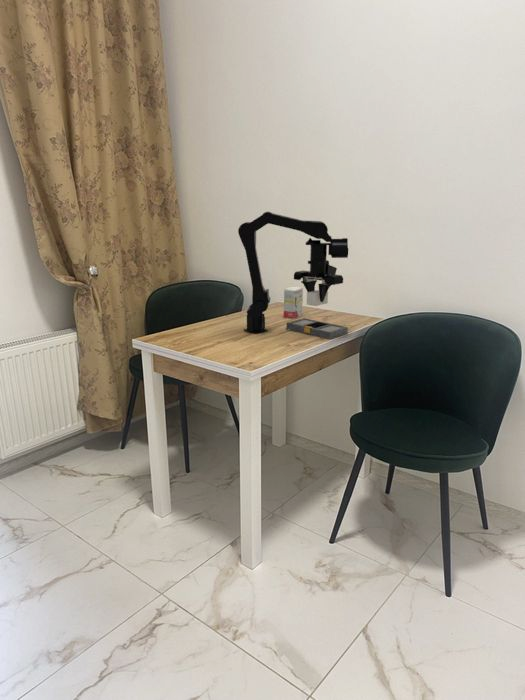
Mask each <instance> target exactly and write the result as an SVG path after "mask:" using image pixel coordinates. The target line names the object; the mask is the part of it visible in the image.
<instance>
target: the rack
mask: <svg viewBox="0 0 525 700" xmlns="http://www.w3.org/2000/svg"><path fill="white" fill-rule="evenodd" d="M288 329H289V330H288ZM286 330H288V331H293V332H296V333H302V334H306V335H308V336H309V335H310V336H314V337H318V338H322V339H326V340H333V339H335V338H339V337H343V336H346V335H348V333H349V327H348V326H345V325H339V324H333V323H330V322H324V321H319V320H315V319H311V318H305V317H304V318H301V319H297V320H291V321H289V322H286Z"/></svg>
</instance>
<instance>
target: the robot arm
mask: <svg viewBox="0 0 525 700" xmlns="http://www.w3.org/2000/svg"><path fill="white" fill-rule="evenodd" d="M266 225H273V226H274V225H275V226H278V227H281V228H286V229H290V230H295V231H299V232H302V233H304V234H305V235H308V236H310V237H309V238H308V239H307V241H305V245H306V246H310V253H309V258H310V260H307V264H308V265H309V270H298V271H295V272H294V273H293V280H294V281H295V280H296V281H300V282H301V284H303V286H304V288H305V290H306V293H307V292H311V291H316V289H315V288H316V284H317V285H318V290H319V295H320V301H321V302H323V301H324V298H325V296H326V293H327V291H328V290H329V289H330V288H331V286H336V285H340V284H344V277H343V276H342V274H337V269H338V268H337V267H336V266H334V265H331V264H330V261H329V260H327V255H328V256H330V257H331V258H332V259H334V258H335V259H348V256H349V244H348V241H349V239H348V238H347V237H343V238H332V236H331V235H329V233H328V232H329V230H328V226H327V225H326V223H324V221H321V220H305V219H304V220H303V219H298V218H295V217H290V216H285V215H281V214H279V213H278V214H277V213H274V212H271V211H265V212H263V213H262V214H261V215H260V216H258V217H256V218H255V219H253V220H252V221H247V222H243V223H242V224H240V225H239V226H238V229H237V233H238V237H239V239H240V242H241V244H242V246H243V248H244V250H245V255H246V261H247V265H248V271H249V276H250V281H251V285H252V286H251V287H252V291H251V292H252V293H251V294H252V295H251V296H252V298H251V299H252V300H251V301H252V302H251V304H250V305H249V306H248V308H247V309H246V328H243V331H245V332H248V333H252V334H259V333H263V332H267V331H268V328H266V317H265V313H264V312H267V309H268V307H269V304H270V303H271V296H270V295H269V294H270V289H269V288H266V289H265V286H264V285H263V279H262V274H261V268H260V263H259V257H258V253H257V231H259V230H261V229H262V228H263V227H265V226H266ZM311 237H313V238H314V239H312V238H311ZM321 240H323V241H325V242H322V241H321ZM327 253H328V254H327ZM301 279H302V280H301ZM318 281H321V283H317V282H318ZM328 292H329V291H328Z"/></svg>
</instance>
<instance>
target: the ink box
mask: <svg viewBox="0 0 525 700" xmlns="http://www.w3.org/2000/svg"><path fill="white" fill-rule="evenodd" d="M303 298H304V287H301V286H290V287H287V288H284V289H283V318H288V319H290V318H291V319H295V318H298V317H300V316H302V315H303V302H304V300H303Z"/></svg>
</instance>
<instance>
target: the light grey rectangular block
mask: <svg viewBox="0 0 525 700" xmlns="http://www.w3.org/2000/svg"><path fill="white" fill-rule="evenodd" d="M328 297H329V291H327V293H326V296H325V298H324V301H323V302H321V301H320V295H319V289H318V290H316V289H315V291H311V292H307V291H306V305H308V306H313V307H317V306H322V305H327V304H328V302H329V301H328V299H329V298H328Z"/></svg>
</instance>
